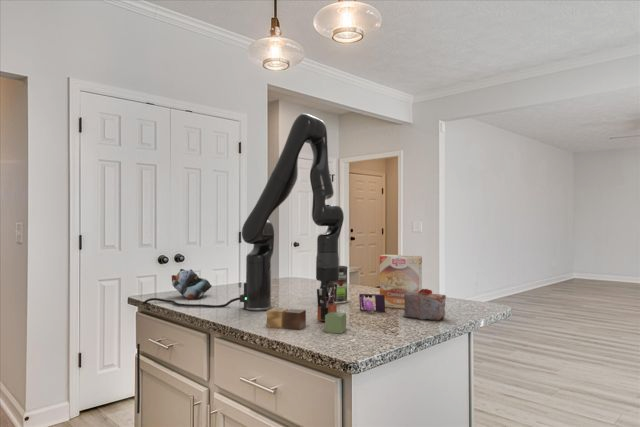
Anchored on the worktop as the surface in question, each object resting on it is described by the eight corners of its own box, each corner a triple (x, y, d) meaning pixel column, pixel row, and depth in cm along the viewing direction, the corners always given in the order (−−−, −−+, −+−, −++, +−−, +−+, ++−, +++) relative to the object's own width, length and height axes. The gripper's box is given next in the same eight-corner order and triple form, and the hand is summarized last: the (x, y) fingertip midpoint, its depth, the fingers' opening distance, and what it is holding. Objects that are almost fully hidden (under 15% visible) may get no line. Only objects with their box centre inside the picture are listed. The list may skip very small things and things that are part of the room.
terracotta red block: (317, 320, 145) (317, 304, 145) (322, 317, 150) (322, 302, 150) (332, 321, 143) (332, 306, 143) (336, 318, 148) (336, 303, 148)
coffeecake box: (379, 306, 170) (379, 255, 170) (383, 303, 176) (383, 254, 177) (419, 310, 164) (418, 256, 164) (422, 306, 171) (422, 255, 171)
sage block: (325, 332, 131) (325, 315, 131) (330, 328, 136) (330, 311, 136) (341, 333, 130) (341, 316, 130) (346, 329, 134) (346, 313, 134)
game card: (384, 293, 160) (359, 292, 162) (383, 301, 155) (357, 299, 157) (385, 310, 162) (360, 309, 164) (383, 318, 157) (358, 316, 159)
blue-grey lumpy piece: (196, 300, 181) (179, 270, 181) (177, 309, 187) (160, 280, 186) (217, 285, 195) (201, 257, 194) (199, 294, 200) (183, 267, 199)
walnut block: (284, 328, 136) (284, 311, 136) (290, 324, 140) (291, 308, 140) (299, 329, 134) (299, 313, 134) (305, 326, 139) (305, 310, 139)
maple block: (266, 326, 138) (266, 310, 138) (273, 323, 142) (273, 307, 142) (281, 328, 136) (281, 311, 136) (288, 324, 141) (288, 308, 141)
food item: (448, 317, 151) (448, 288, 151) (443, 322, 144) (442, 291, 144) (408, 313, 157) (408, 285, 157) (401, 318, 150) (401, 288, 150)
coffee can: (352, 302, 179) (352, 267, 179) (329, 304, 174) (329, 268, 174) (339, 298, 188) (339, 264, 188) (317, 300, 183) (317, 265, 184)
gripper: (324, 263, 155) (323, 312, 154) (308, 267, 141) (308, 321, 141) (344, 264, 152) (344, 314, 152) (331, 268, 139) (331, 323, 138)
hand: (327, 317), depth 146 cm, fingers closed on terracotta red block, 5 cm apart
